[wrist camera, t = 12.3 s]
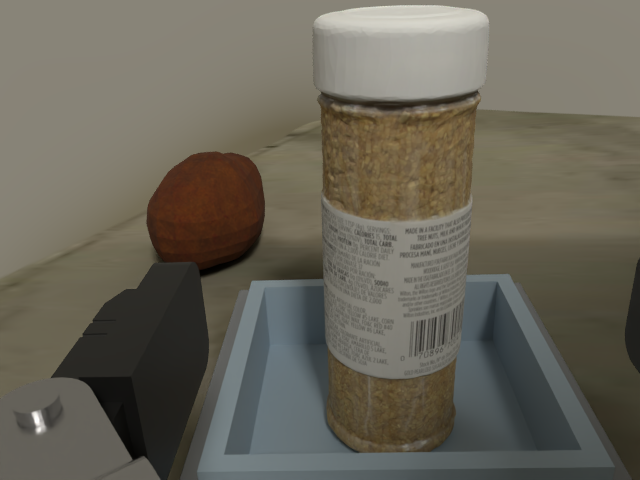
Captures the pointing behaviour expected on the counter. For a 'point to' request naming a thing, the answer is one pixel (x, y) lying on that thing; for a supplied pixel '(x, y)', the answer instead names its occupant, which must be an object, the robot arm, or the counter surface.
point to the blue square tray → (402, 467)
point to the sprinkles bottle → (396, 214)
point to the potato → (207, 210)
